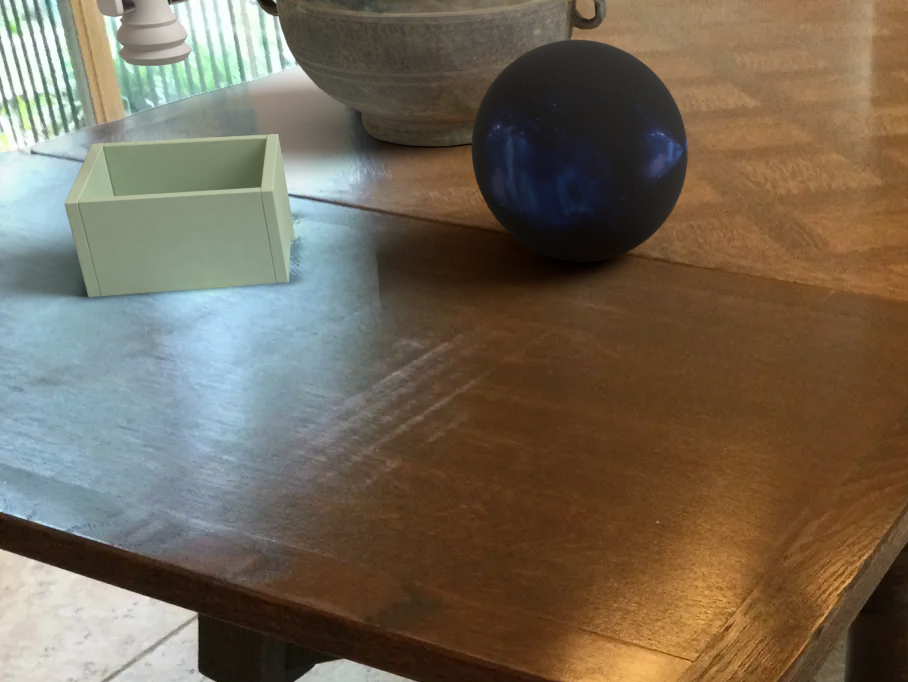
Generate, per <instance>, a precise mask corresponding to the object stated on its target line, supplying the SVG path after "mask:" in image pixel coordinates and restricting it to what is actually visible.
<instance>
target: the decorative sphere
mask: <svg viewBox="0 0 908 682" xmlns="http://www.w3.org/2000/svg"><path fill="white" fill-rule="evenodd" d="M665 84H666V83H664V82H663V80H662V79H661V78H660V77H659V76H658V75H657V74H656V73H655V72H654V71H653V69H651V68H650V67H649V66H648V65H647V64H646V63H644V62H643V61H642V60H641V59H639V58H637V57H636V56H634V55H633V54H631V53H629V52H628V51H626V50H623V49H621V48H620V47H616V46H614V45H611V44H608V43H605V42H600V41H596V40H589V39H572V40H564V41H557V42H552V43H549V44H545V45H542V46H540V47H537V48H535V49H533V50H531V51H529V52H527V53H525V54H523V55H522V56H520V57H519V58H517V59H516V60H515V61H513V62H512V63H511V64H509V65H508V66H507V67H506V68H505V69H504V70H503V71H502V72H501V73H500V74H499V75H498V76H497V78H496V79H495V80H494V81H493V83H492V84H491V86H490V87H489V89H488V90H487V92H486V94H485V96H484V98H483V100H482V102H481V104H480V107H479V109H478V112H477V115H476V119H475V123H474V128H473V135H472V143H471V159H472V160H471V161H472V167H473V173H474V177H475V181H476V184H477V186H478V189H479V191H480V195H481V197H482V198H483V200H484V203H485V204H486V206H487V207H488V210H489V211H490V212H491V215H492V216H493V217H494V218H495V219H496V221H497V222H498V224H500V225H501V226H502V227H503V229H504V230H505V231H506V232H507V233H508V234H510V235H511V236H512V237H513V238H514V239H516V240H517V241H518V242H520V243H521V244H523V245H524V246H526V247H527V248H529V249H530V250H533V251H535V252H537V253H539V254H542V255H543V256H547V257H549V258H553V259H556V260H561V261H566V262H573V263H589V262H599V261H605V260H609V259H613V258H615V257H618V256H622V255H624V254H626V253H628V252H631V251H632V250H635V249H636V248H637V247H638V246H641V245H642V244H643V243H644V242H646V241H647V240H649V239H650V238H652V236H653V235H654V234H655V233H656V232H657V231H658V230H659V229H660V228H661V227H662V226H663V225H664V224H665V222H666V221H667V220H668V218H669V217H670V215H671V214H672V212H673V211H674V208H675V206H676V204H677V202H678V200H679V198H680V196H681V194H682V190H683V188H684V184H685V181H686V180H685V179H686V175H687V170H688V169H687V168H688V160H689V159H688V157H689V155H688V154H689V150H688V149H689V148H688V147H689V146H688V137H687V133H686V127H685V124H684V120H683V117H682V114H681V112H680V108H679V107H678V105H677V103H676V100H675V98H674V96H673V95H672V93H671V91H670V90H669V89H668V87H667V85H665Z"/></svg>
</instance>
